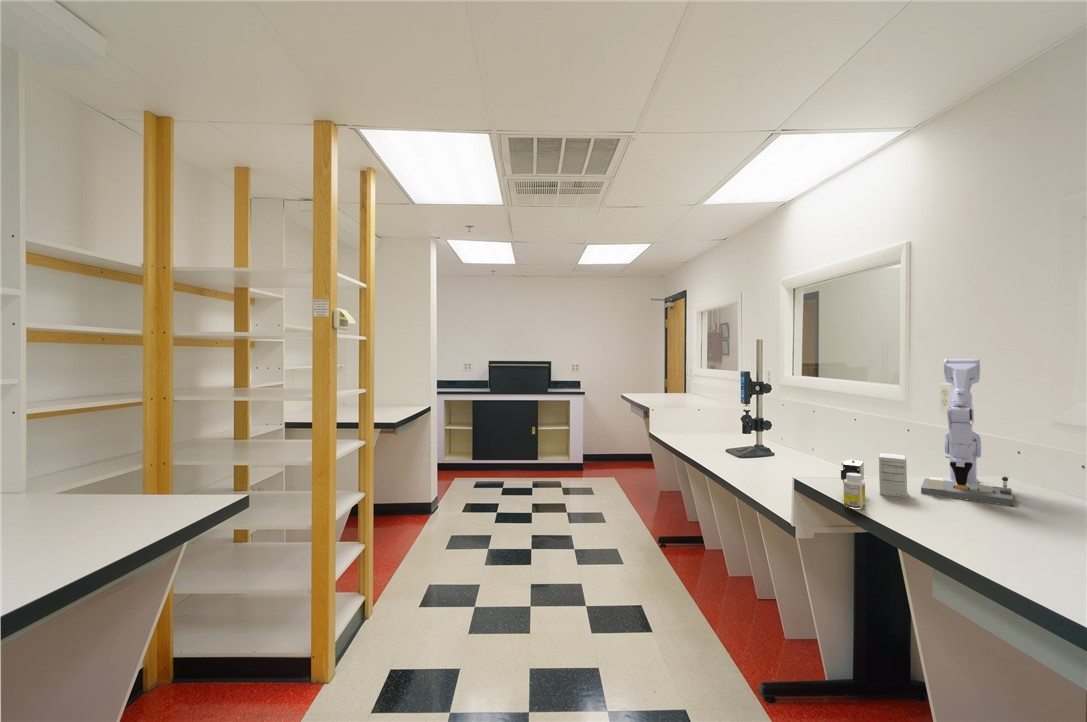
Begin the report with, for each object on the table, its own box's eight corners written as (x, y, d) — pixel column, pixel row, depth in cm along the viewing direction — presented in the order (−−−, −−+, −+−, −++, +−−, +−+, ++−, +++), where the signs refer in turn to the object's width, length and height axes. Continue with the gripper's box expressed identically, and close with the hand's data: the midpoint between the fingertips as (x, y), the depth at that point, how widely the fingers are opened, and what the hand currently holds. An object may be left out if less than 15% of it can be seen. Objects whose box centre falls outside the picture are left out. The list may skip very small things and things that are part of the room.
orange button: (955, 490, 163) (955, 482, 163) (968, 491, 161) (967, 484, 161) (954, 492, 161) (954, 484, 161) (967, 494, 159) (967, 486, 159)
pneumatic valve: (864, 492, 165) (864, 457, 165) (859, 500, 156) (859, 463, 156) (845, 489, 169) (845, 455, 169) (839, 498, 160) (838, 461, 160)
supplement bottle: (858, 504, 153) (857, 471, 153) (869, 510, 147) (869, 476, 147) (840, 504, 153) (839, 472, 153) (851, 510, 148) (850, 476, 147)
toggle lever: (1001, 487, 155) (1001, 476, 156) (1008, 488, 154) (1008, 477, 155) (1002, 486, 154) (1001, 475, 155) (1008, 487, 153) (1008, 476, 154)
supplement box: (880, 489, 169) (880, 452, 168) (907, 492, 164) (906, 454, 164) (878, 494, 163) (878, 456, 163) (906, 498, 158) (906, 459, 158)
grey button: (979, 490, 159) (979, 482, 159) (992, 492, 157) (992, 484, 157) (979, 492, 157) (979, 484, 157) (992, 494, 155) (992, 486, 155)
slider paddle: (930, 486, 163) (929, 477, 163) (944, 488, 160) (943, 478, 160) (929, 488, 160) (929, 479, 160) (943, 490, 158) (943, 480, 158)
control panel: (925, 483, 174) (925, 475, 174) (1011, 494, 159) (1010, 485, 159) (921, 493, 162) (921, 484, 162) (1013, 506, 148) (1012, 496, 148)
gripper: (946, 439, 169) (946, 478, 169) (943, 445, 158) (944, 487, 158) (973, 441, 164) (974, 481, 164) (972, 447, 153) (973, 491, 154)
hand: (961, 484), depth 161 cm, fingers closed, pressing on orange button
